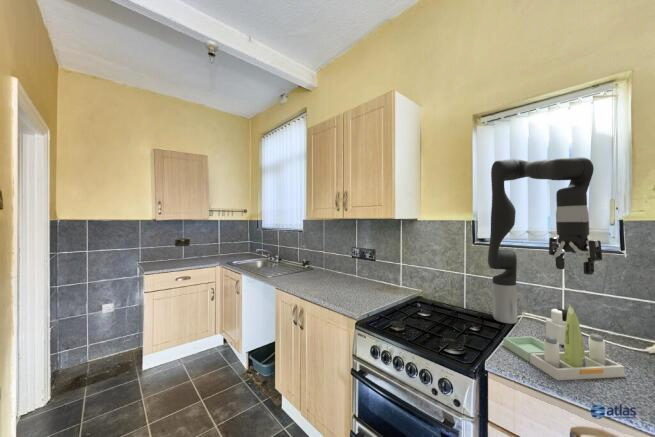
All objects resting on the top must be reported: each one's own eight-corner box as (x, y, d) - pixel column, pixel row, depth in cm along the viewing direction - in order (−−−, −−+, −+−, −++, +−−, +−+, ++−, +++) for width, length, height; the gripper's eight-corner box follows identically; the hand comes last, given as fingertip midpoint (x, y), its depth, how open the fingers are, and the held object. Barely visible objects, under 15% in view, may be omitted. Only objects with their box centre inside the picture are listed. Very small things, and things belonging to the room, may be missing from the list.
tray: (503, 345, 96) (503, 337, 96) (532, 344, 97) (532, 336, 97) (528, 361, 85) (528, 352, 85) (560, 360, 86) (560, 351, 86)
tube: (558, 364, 83) (555, 304, 83) (572, 363, 84) (569, 303, 84) (576, 375, 77) (574, 310, 78) (591, 373, 78) (588, 309, 78)
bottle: (541, 367, 82) (540, 335, 82) (552, 367, 82) (551, 335, 82) (552, 374, 78) (550, 340, 78) (563, 373, 78) (562, 340, 78)
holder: (530, 362, 85) (530, 353, 85) (590, 359, 86) (590, 350, 86) (558, 381, 75) (558, 370, 75) (626, 377, 76) (625, 367, 76)
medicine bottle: (564, 337, 102) (563, 307, 102) (580, 345, 95) (579, 313, 95) (545, 336, 103) (544, 306, 103) (559, 345, 96) (558, 313, 96)
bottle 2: (586, 365, 82) (584, 333, 83) (596, 364, 83) (595, 333, 83) (598, 371, 79) (597, 338, 79) (609, 371, 79) (608, 338, 79)
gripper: (540, 220, 88) (542, 268, 88) (584, 220, 74) (587, 276, 73) (561, 220, 88) (562, 267, 88) (609, 220, 74) (611, 275, 74)
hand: (573, 271), depth 81 cm, fingers open, 8 cm apart
